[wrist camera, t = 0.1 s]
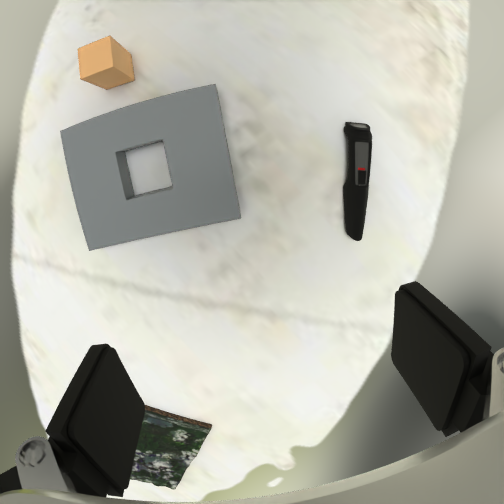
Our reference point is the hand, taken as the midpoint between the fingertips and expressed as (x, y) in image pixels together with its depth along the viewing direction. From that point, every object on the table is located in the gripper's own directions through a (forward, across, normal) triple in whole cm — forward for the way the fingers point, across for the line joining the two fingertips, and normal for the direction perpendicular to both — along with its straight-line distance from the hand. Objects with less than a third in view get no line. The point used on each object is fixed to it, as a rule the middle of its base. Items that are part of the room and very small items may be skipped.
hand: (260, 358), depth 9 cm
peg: (+31, +12, -20) cm, 39 cm away
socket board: (+31, +10, -6) cm, 33 cm away
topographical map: (+32, +34, +47) cm, 66 cm away
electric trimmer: (+32, -16, 0) cm, 36 cm away
